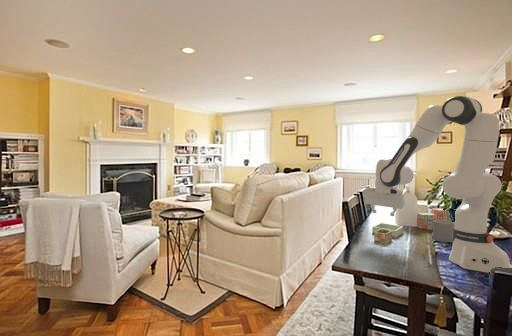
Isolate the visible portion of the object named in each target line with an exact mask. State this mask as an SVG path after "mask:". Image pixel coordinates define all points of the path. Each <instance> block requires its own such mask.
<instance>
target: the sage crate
mask: <svg viewBox="0 0 512 336" xmlns="http://www.w3.org/2000/svg"><path fill="white" fill-rule="evenodd" d="M379 229H385V230H390V231H392V239H393V238H394V239H397V238H398V237H399V236H401V235H403V234H404V226H401V225H398V224H391V223H384V222H380V223H378V224H377V223H376V224H375V225H372V231H371V233H372V234H373V233H374V232H375V231H377V230H379Z"/></svg>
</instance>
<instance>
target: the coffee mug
mask: <svg viewBox="0 0 512 336" xmlns="http://www.w3.org/2000/svg"><path fill="white" fill-rule="evenodd" d="M454 223H455V222H452V221H448V220H433V230H432V240H434V241H436V242H441V243H447V242H452V243H453V239H452V233H453V228H454Z"/></svg>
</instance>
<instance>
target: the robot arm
mask: <svg viewBox="0 0 512 336" xmlns="http://www.w3.org/2000/svg"><path fill="white" fill-rule="evenodd" d="M449 123H454V124H458V125H461V126H463V127H464V129H465V132H464V138H463V142H462V143H463V144H462V149H461V154H460V157H459V160H458V162H457V163H456V166H455V167H454V169H453V170H452V172H451V173H449V175H447V176H446V177H445V178H444V179H443V182H442V190H443V192H444V193H445V195H446V196H448V197H450V198H453V199H458V200H462V201H461V204H459V206H458V207H457V208H456V209H455V210H456V211H455V223H454V228H453V233H452V239H453V242H452V246H451V251H450V254H449V256H448V260H449V261H450V262H451V263H453V264H456V265H458V266H459V267H461V268H462V269H465V270H470V271H476V272H482V273H487V274H490V273H489V272H490V270H491V269H492V268H495V267H502V268H512V264H511V262H510V257H509V256H508V255H509V254H507V252H505V250H503V249H502V248H501V247H500V246H497V245H496V244H495V243H494V242H493V241H494V237H493V234H492V233H489V232H487V227H488V215H489V211H490V208H491V206H492V204H493V201H494V199H495V197H496V196H497V194H499V193H500V192H501V191H502V187H503V184H502V181H501V179H500V178H499V177H498V176H497V175H494V174H491V173H487V172H485V171H486V169H487V168H488V167H489V166H490V165H491V164H492V163H493V162H494V160H495V157H496V152H497V147H498V142H499V138H500V137H499V135H500V119H499V117H498V116H497V115H495V114H493V113H489V112H483V106H482V103H480V102H479V101H478V100H477V99H476V98H475V99H474V98H472V97H470V96H465V95H456V96H452V97H450V98H448V99H447V100H446V101H445V102H444V103H443V105H439V104H434V105H433V104H432V105H430V106H428V107H427V108H426V109H425V110H424V112H423V113H422V114H421V115H420V117H419V119H418V120H417V121H416V124H415V125H414V127H413V128H412V130H411V132H410V133H409V135H408V136H407V138H406V139H404V141H403V142H402V144H401V145H400V147H399V148H398V149H397V151H396V152H395V153H394V155H393V157H392V158H383V159H379V160H378V161H377V162H376V167H375V177H376V179H375V187H366V188H365V189H364V197H363V200H364V201H363V202H364V204H365V205H370V208H371V210H372V211H371V213H372V214H377V209H375V206H380V207H386V208H392V210H393V211H391V212H390V213H389V214H390V217H391V216H392V217H395V214H396V210H397V208H399V209H402V208H404V206H405V200H404V196H403V194H402V193H403V188H399V187H397V186H402V185H408V184H410V183H411V182H412V181H413V179H414V172H413V169H411V168H410V167H408V166H406V165H407V163H408V162H409V160H410V159H411V157H412V156H414V154H415V153H417V152H419V151H421V150H423V149H426V148H429V147H431V146H432V145H433V144H434V143H435V142H436V141H437V140H438V139H439V136H440V135H441V133H442V132H443V131H444V128H445V127H446V126H447V125H448V124H449Z"/></svg>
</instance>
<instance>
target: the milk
mask: <svg viewBox="0 0 512 336" xmlns="http://www.w3.org/2000/svg"><path fill="white" fill-rule="evenodd" d="M404 185H405V186H404V189H403V188H402V190H403V193H402V194H403V196H404V200H405V206H404V208H402V209H399V208H397V210H396V211H395V215H394V217H395V218H394V220H395V221H394V222H395V223H396V225H397V226H403V227H404V226H405V227H417V213H419V212H418V211H419V209H418V207H419V206H418V197H417V196H416V195H415V194H414V193H413V192H412V191H411V190H410V185H409V184H404ZM417 228H418V227H417Z"/></svg>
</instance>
